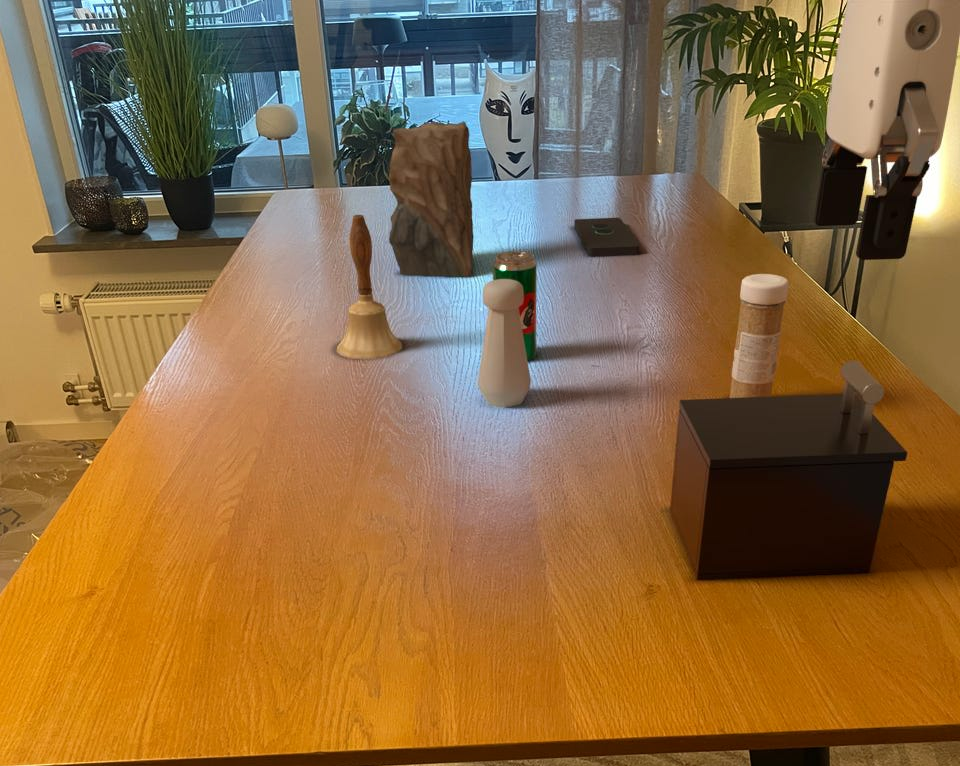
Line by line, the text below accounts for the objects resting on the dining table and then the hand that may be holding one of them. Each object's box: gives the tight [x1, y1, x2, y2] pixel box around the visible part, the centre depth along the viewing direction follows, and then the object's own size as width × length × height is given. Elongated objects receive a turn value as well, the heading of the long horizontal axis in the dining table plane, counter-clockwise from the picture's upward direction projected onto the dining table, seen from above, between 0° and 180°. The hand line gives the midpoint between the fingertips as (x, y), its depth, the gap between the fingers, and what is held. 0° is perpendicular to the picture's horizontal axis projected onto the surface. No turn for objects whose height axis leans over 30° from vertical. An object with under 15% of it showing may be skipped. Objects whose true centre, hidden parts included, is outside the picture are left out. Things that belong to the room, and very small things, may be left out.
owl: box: [388, 120, 474, 278], centre depth 150 cm, size 13×13×20 cm
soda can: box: [492, 250, 538, 361], centre depth 118 cm, size 5×5×12 cm
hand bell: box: [336, 214, 403, 360], centre depth 121 cm, size 8×8×16 cm
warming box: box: [669, 408, 895, 581], centre depth 81 cm, size 14×12×10 cm
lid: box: [678, 359, 908, 469], centre depth 77 cm, size 14×12×5 cm
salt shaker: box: [477, 279, 532, 409], centre depth 107 cm, size 6×6×13 cm
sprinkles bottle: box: [729, 273, 789, 398], centre depth 104 cm, size 5×5×13 cm
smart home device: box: [573, 217, 640, 258], centre depth 166 cm, size 8×2×20 cm
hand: (855, 240), depth 72 cm, fingers open, 9 cm apart
